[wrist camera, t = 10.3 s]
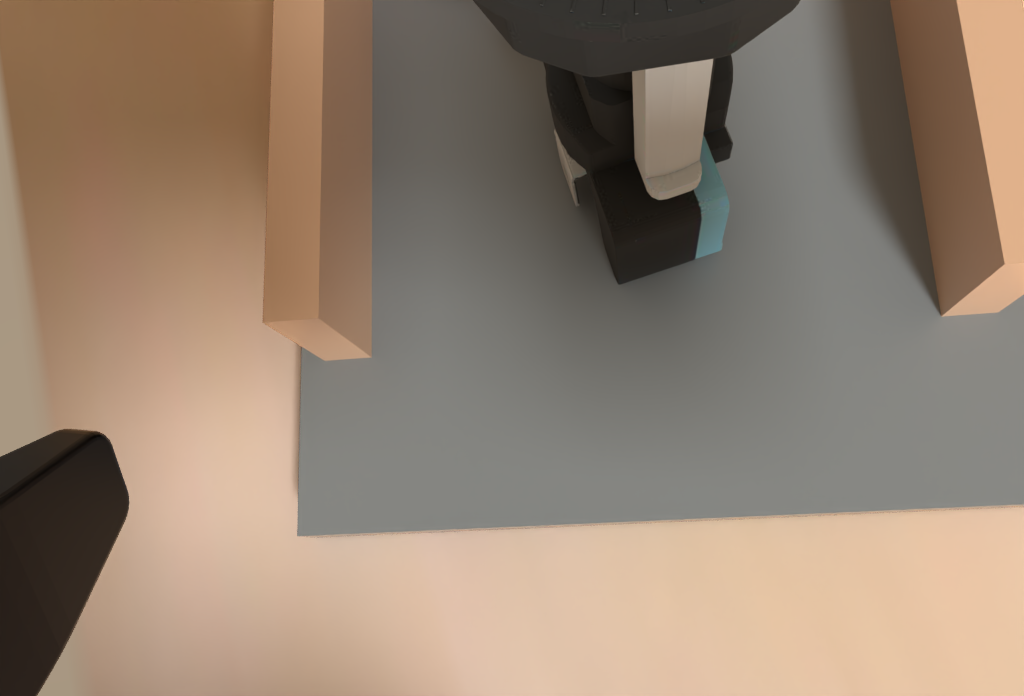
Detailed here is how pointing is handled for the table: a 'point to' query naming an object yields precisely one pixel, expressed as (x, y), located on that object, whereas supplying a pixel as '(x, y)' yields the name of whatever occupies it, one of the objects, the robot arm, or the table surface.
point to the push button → (642, 112)
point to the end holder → (648, 279)
